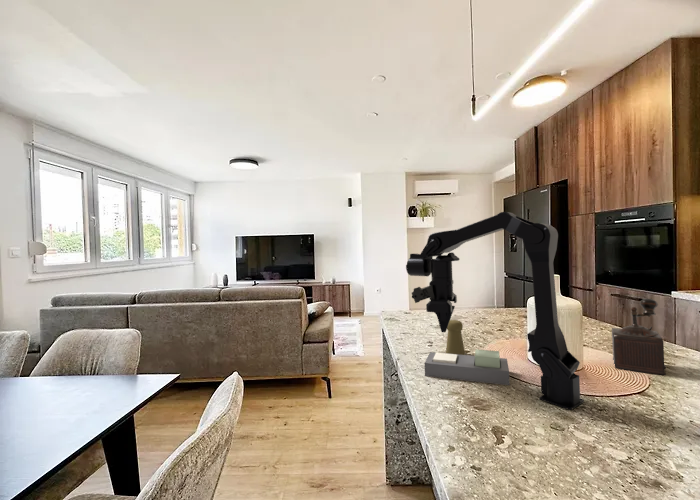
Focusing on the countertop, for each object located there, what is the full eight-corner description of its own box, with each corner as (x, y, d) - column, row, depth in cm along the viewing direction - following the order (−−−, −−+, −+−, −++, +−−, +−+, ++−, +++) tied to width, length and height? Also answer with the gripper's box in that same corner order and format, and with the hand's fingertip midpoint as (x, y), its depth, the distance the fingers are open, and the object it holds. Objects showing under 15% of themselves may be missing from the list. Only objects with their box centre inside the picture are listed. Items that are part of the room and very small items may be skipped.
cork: (466, 357, 104) (465, 322, 104) (446, 356, 105) (445, 322, 105) (463, 351, 110) (462, 318, 110) (445, 350, 111) (443, 318, 111)
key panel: (507, 371, 91) (506, 358, 91) (509, 385, 82) (509, 371, 82) (430, 363, 99) (430, 352, 99) (424, 375, 90) (424, 362, 90)
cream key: (457, 365, 95) (457, 354, 95) (455, 373, 89) (455, 361, 89) (436, 363, 97) (435, 352, 97) (433, 370, 91) (432, 359, 91)
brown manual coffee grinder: (669, 376, 84) (667, 306, 84) (614, 368, 90) (611, 303, 91) (659, 359, 96) (657, 298, 97) (611, 353, 103) (609, 296, 103)
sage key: (499, 362, 90) (498, 351, 90) (500, 370, 85) (499, 358, 85) (476, 360, 93) (475, 349, 93) (475, 367, 87) (474, 355, 87)
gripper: (419, 274, 105) (421, 323, 105) (406, 280, 88) (408, 338, 88) (456, 274, 100) (457, 325, 100) (449, 280, 83) (451, 341, 83)
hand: (443, 332), depth 93 cm, fingers closed
